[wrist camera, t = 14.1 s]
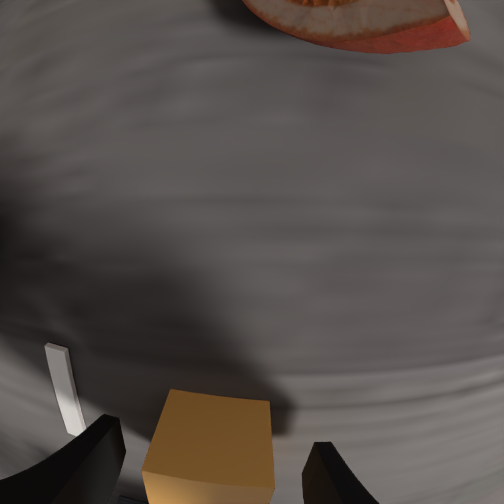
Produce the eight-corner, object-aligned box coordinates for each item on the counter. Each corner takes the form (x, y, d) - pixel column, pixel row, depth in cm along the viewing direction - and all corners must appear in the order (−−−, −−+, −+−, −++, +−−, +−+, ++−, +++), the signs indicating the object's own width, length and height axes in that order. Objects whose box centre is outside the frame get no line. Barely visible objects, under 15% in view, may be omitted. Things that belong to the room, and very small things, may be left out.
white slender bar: (67, 348, 10) (64, 352, 10) (88, 435, 11) (85, 439, 11) (48, 342, 10) (44, 346, 10) (70, 429, 11) (68, 432, 11)
